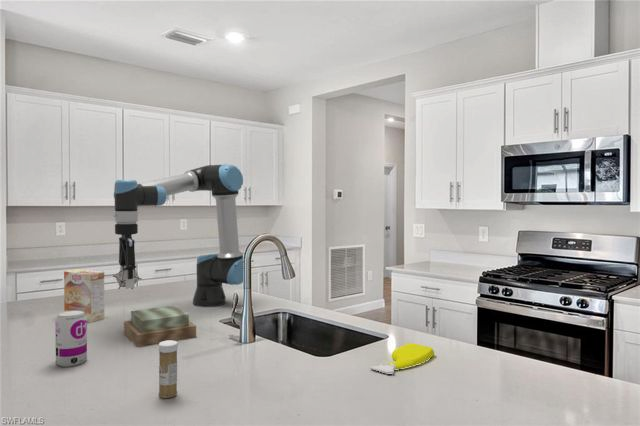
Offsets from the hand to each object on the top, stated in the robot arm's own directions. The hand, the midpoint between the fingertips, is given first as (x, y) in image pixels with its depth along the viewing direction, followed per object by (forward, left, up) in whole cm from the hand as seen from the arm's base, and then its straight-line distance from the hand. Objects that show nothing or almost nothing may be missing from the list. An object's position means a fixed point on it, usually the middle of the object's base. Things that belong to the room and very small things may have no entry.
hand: (127, 285), depth 166 cm
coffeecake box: (+9, -33, -18) cm, 39 cm away
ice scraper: (-63, +75, -19) cm, 100 cm away
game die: (0, 0, -1) cm, 1 cm away
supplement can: (+20, +20, -18) cm, 34 cm away
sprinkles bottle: (+3, +59, -18) cm, 62 cm away
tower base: (-10, +6, -18) cm, 21 cm away
